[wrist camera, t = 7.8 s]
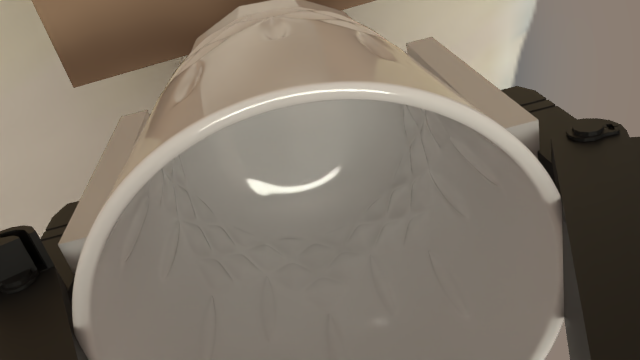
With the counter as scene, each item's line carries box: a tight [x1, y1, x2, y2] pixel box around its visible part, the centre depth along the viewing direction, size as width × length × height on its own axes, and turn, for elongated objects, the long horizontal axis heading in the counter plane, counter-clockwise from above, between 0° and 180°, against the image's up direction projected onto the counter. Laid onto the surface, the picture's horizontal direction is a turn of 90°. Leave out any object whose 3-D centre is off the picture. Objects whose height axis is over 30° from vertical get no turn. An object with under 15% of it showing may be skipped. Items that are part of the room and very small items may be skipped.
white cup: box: [72, 0, 564, 360], centre depth 13 cm, size 8×8×10 cm
